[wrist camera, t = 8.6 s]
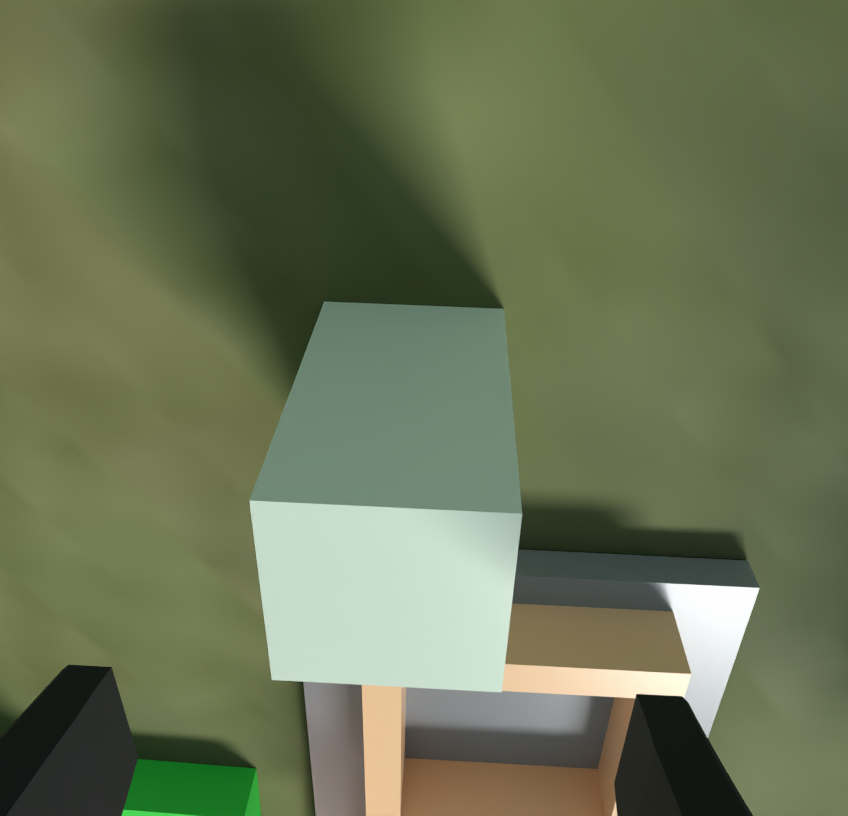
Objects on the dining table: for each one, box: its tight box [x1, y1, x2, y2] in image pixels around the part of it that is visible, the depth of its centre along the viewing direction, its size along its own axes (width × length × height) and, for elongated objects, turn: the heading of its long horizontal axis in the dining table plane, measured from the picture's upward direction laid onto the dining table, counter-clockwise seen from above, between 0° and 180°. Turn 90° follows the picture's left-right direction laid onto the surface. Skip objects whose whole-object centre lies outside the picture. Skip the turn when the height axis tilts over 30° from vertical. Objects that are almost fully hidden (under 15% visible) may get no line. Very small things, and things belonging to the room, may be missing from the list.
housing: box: [303, 549, 759, 816], centre depth 25 cm, size 12×20×3 cm, turn 179°
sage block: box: [249, 302, 522, 692], centre depth 15 cm, size 4×4×7 cm
